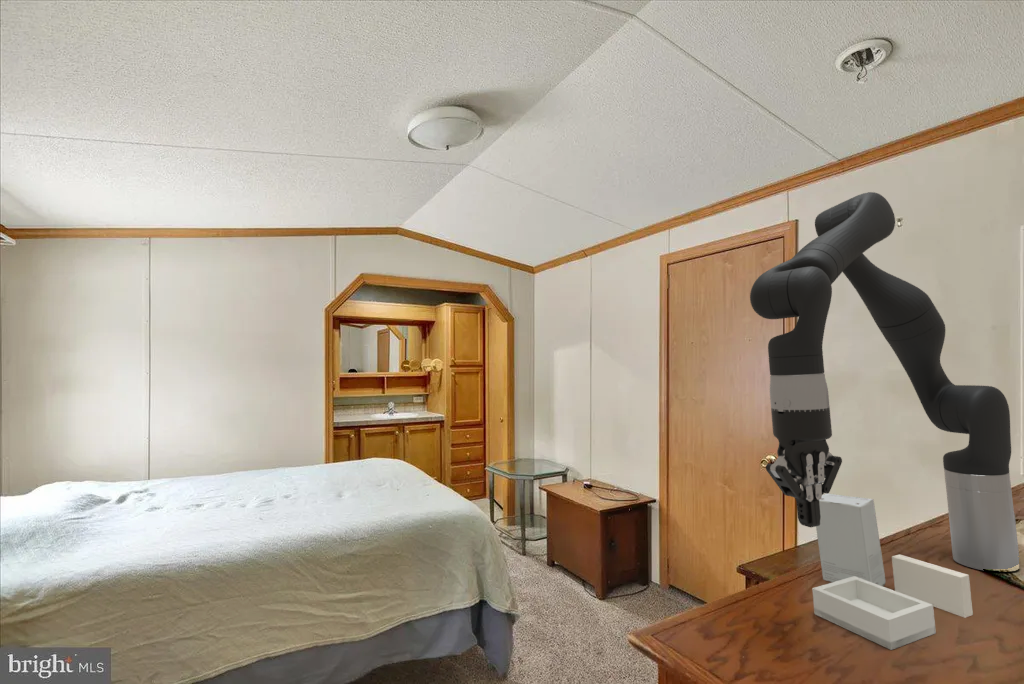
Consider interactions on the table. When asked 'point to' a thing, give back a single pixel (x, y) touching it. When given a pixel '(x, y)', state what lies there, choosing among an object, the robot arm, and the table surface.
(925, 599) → the wall
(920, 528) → the table surface
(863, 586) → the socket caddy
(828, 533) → the skincare box
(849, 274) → the robot arm
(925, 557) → the table surface
